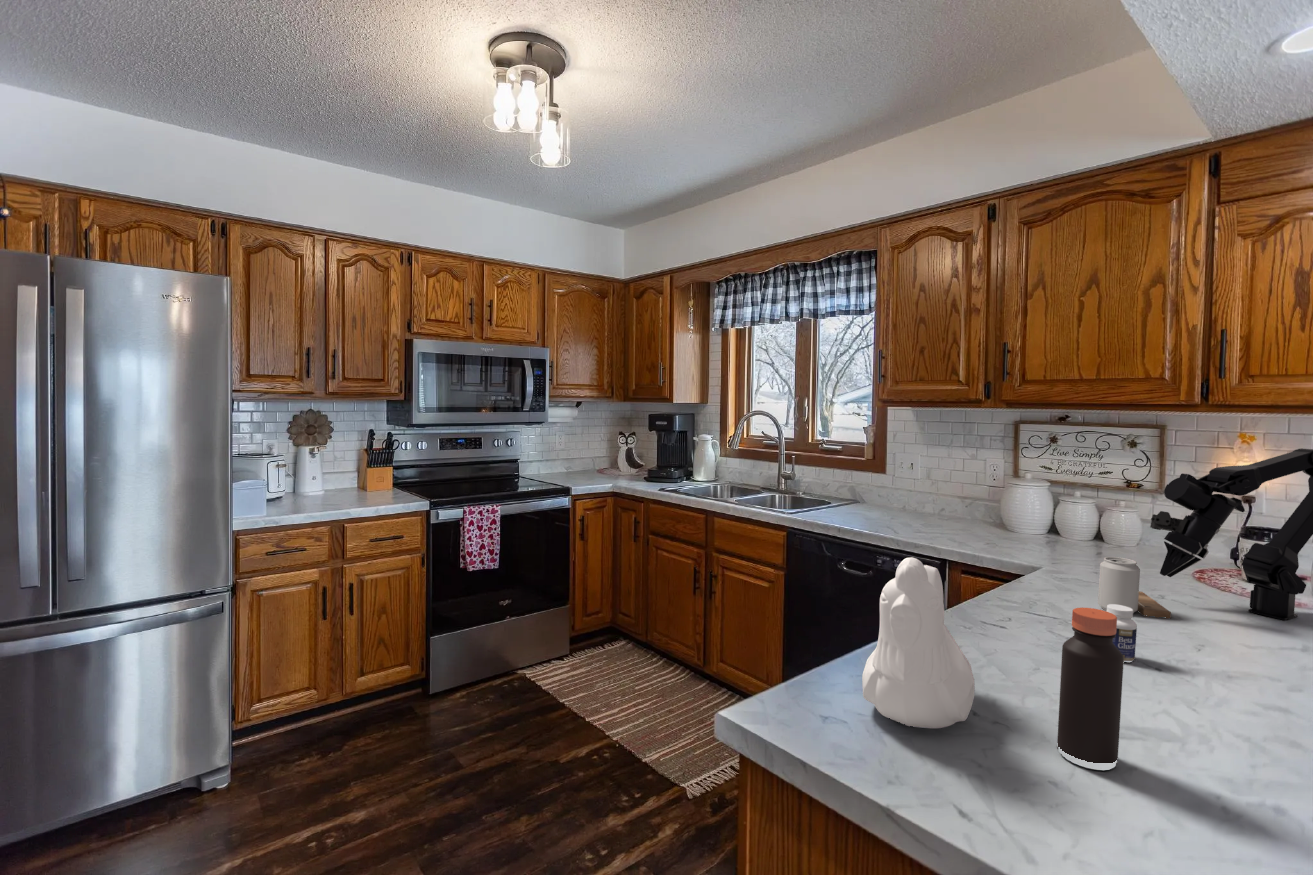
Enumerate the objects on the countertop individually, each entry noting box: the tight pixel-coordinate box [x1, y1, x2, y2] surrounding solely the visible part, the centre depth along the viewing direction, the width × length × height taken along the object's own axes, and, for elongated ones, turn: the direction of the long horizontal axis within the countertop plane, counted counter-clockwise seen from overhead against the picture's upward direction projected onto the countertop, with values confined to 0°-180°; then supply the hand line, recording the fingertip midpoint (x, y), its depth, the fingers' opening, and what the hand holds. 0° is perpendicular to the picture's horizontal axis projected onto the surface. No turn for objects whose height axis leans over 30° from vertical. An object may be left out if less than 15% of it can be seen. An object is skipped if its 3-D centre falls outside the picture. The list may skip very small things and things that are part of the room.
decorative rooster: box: [861, 556, 976, 729], centre depth 98 cm, size 25×16×25 cm, turn 135°
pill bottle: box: [1107, 604, 1138, 661], centre depth 119 cm, size 5×5×10 cm
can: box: [1097, 556, 1141, 614], centre depth 147 cm, size 8×8×12 cm
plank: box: [1136, 590, 1172, 619], centre depth 150 cm, size 16×5×2 cm, turn 161°
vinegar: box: [1056, 607, 1124, 763], centre depth 85 cm, size 7×7×20 cm
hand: (1165, 575), depth 147 cm, fingers open, 9 cm apart
